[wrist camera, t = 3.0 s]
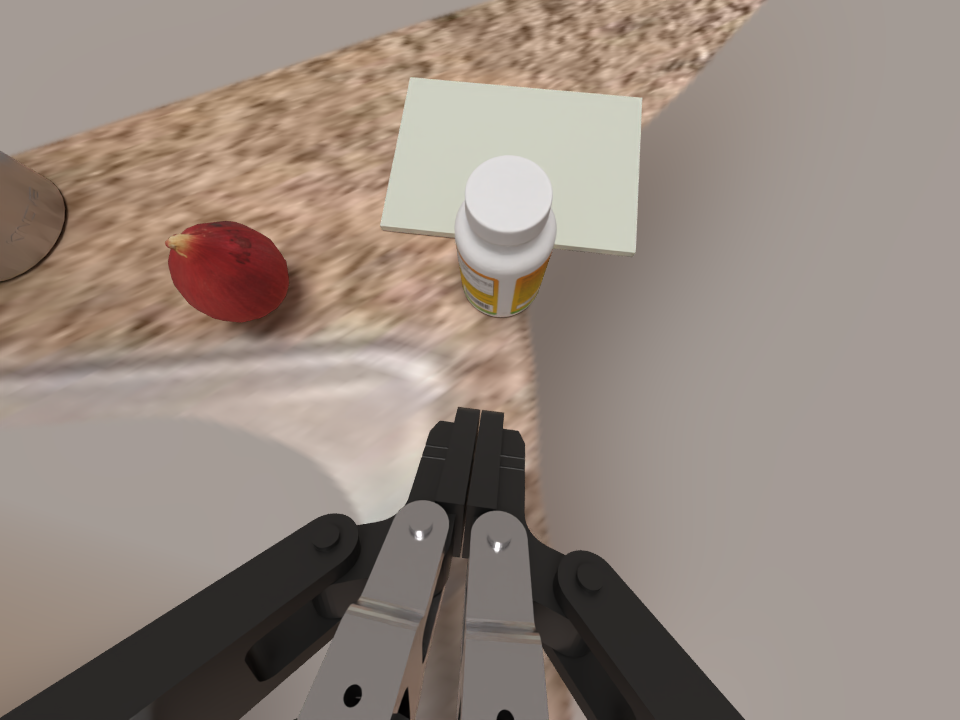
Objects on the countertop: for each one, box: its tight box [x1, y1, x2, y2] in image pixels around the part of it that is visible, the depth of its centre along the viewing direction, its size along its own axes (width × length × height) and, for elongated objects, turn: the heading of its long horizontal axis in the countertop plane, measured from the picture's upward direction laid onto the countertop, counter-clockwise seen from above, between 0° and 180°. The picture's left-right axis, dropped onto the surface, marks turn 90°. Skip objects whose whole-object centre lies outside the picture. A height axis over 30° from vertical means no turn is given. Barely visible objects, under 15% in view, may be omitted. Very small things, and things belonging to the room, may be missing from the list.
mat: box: [380, 77, 642, 257], centre depth 28 cm, size 18×13×1 cm
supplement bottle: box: [454, 155, 557, 317], centre depth 21 cm, size 5×5×10 cm
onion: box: [165, 221, 289, 322], centre depth 22 cm, size 6×6×8 cm
